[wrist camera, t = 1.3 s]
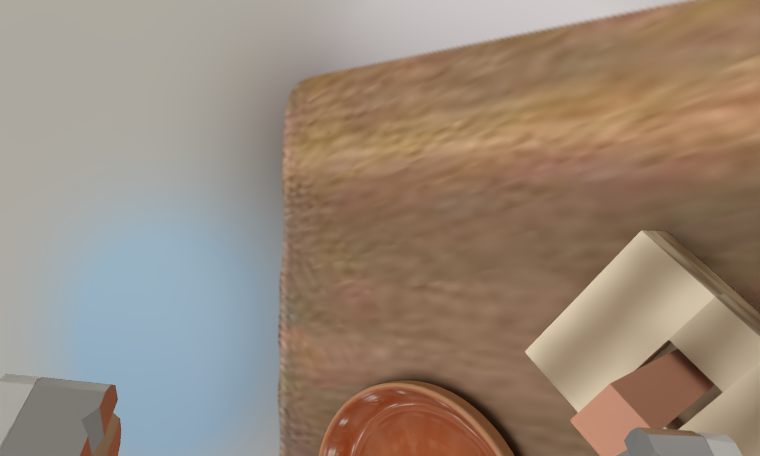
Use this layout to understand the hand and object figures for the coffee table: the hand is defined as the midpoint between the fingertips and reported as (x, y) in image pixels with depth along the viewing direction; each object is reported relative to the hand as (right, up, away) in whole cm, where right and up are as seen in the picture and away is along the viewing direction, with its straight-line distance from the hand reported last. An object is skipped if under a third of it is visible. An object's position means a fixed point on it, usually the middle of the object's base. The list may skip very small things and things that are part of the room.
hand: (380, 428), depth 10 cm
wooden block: (+20, -7, +33) cm, 39 cm away
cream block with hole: (+22, -7, +35) cm, 42 cm away
